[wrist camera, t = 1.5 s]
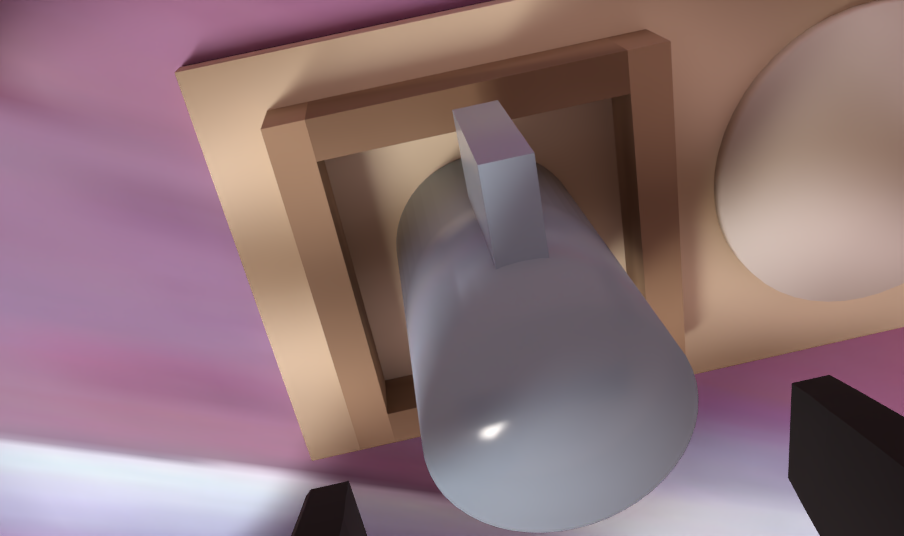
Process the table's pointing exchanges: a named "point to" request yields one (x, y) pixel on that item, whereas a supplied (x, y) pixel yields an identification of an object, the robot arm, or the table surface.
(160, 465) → the table surface
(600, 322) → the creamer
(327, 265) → the jug board
